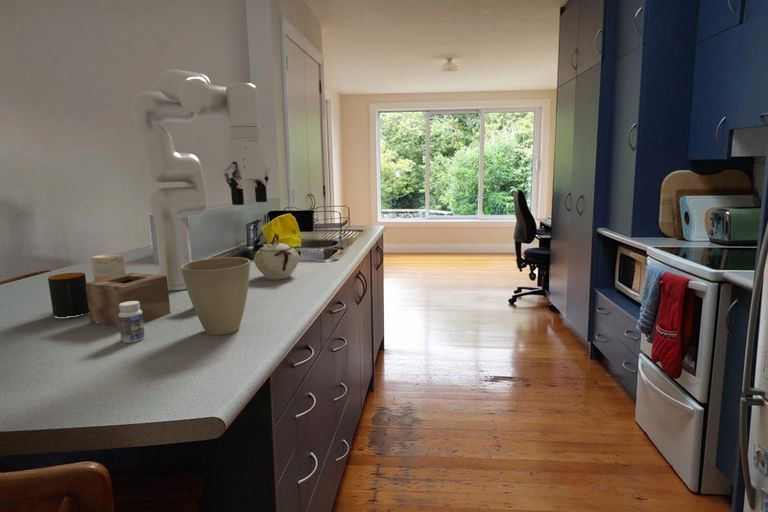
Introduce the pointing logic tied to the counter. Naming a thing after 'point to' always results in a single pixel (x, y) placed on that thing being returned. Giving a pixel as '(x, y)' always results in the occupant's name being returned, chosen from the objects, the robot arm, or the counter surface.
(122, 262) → the supplement box
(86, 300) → the mug
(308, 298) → the counter surface
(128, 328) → the pill bottle
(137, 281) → the box
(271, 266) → the sugar bowl
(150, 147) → the robot arm
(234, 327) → the plant pot
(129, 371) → the counter surface
